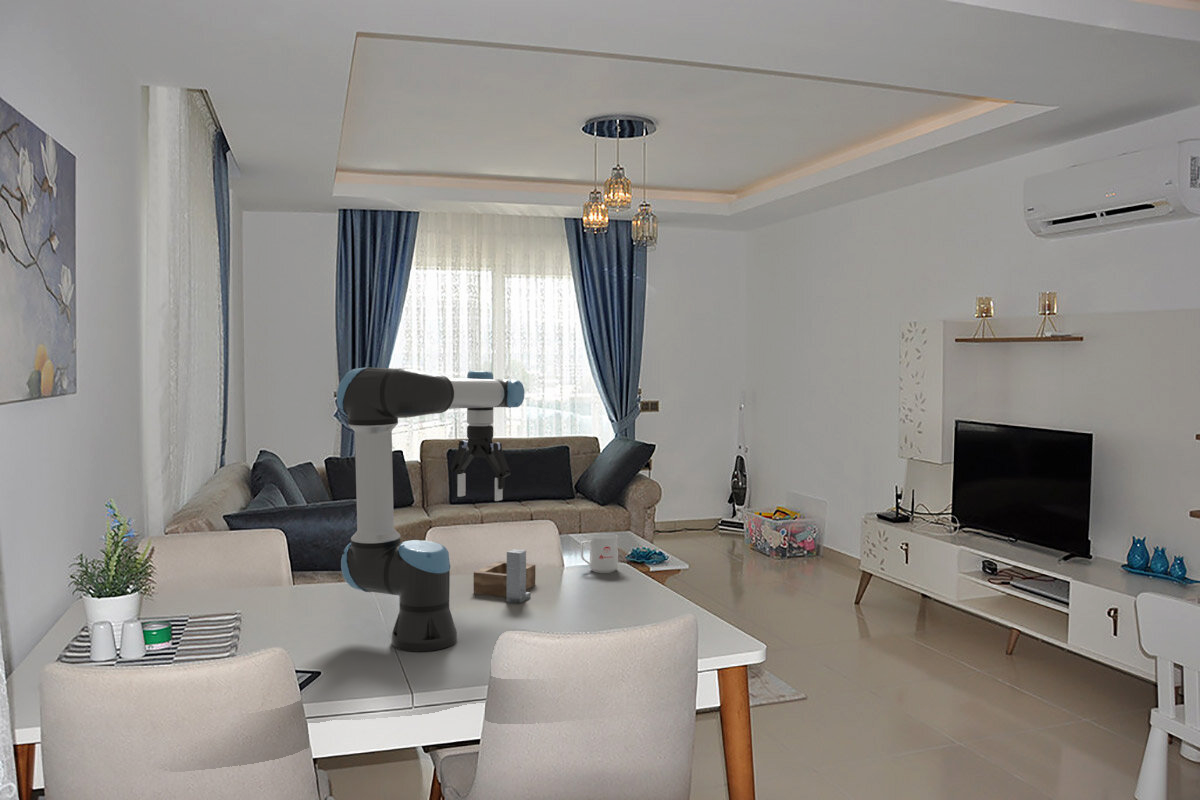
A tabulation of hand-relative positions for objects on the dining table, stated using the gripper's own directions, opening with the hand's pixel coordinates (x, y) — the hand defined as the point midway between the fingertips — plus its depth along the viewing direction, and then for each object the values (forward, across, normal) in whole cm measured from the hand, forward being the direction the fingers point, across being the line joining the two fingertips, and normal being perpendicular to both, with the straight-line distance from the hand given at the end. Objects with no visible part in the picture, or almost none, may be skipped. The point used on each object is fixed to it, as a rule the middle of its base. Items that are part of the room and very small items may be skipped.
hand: (479, 498), depth 266 cm
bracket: (+27, -16, +3) cm, 31 cm away
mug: (+27, -16, -40) cm, 51 cm away
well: (+27, -6, -5) cm, 28 cm away
